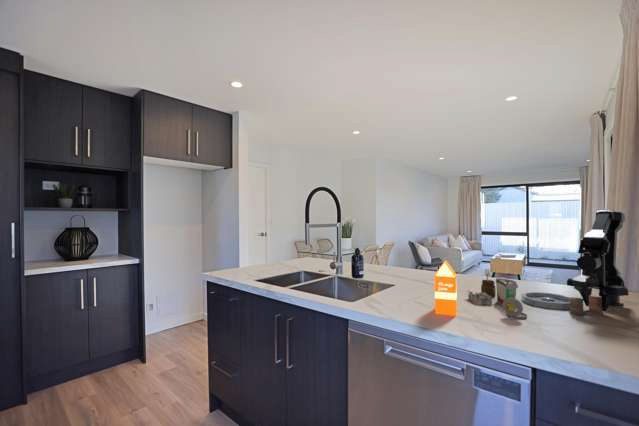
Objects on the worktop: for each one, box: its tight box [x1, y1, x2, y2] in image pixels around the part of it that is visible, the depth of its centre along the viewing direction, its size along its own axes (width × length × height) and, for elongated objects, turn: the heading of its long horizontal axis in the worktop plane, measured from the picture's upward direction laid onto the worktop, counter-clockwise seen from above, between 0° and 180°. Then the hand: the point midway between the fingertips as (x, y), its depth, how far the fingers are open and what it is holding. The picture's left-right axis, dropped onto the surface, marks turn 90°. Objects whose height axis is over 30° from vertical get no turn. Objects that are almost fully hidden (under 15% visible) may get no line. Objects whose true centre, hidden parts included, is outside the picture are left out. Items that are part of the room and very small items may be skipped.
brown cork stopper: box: [588, 294, 604, 314], centre depth 120 cm, size 4×4×6 cm
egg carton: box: [467, 289, 493, 306], centre depth 136 cm, size 11×8×4 cm
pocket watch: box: [502, 291, 528, 319], centre depth 115 cm, size 8×8×10 cm
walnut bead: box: [569, 296, 584, 317], centre depth 118 cm, size 4×4×6 cm
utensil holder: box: [480, 268, 497, 298], centre depth 146 cm, size 6×6×12 cm
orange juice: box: [434, 259, 458, 317], centre depth 123 cm, size 8×9×20 cm
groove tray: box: [521, 291, 571, 310], centre depth 133 cm, size 18×18×2 cm
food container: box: [495, 278, 519, 308], centre depth 131 cm, size 12×6×10 cm, turn 168°
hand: (595, 308), depth 120 cm, fingers open, 6 cm apart
